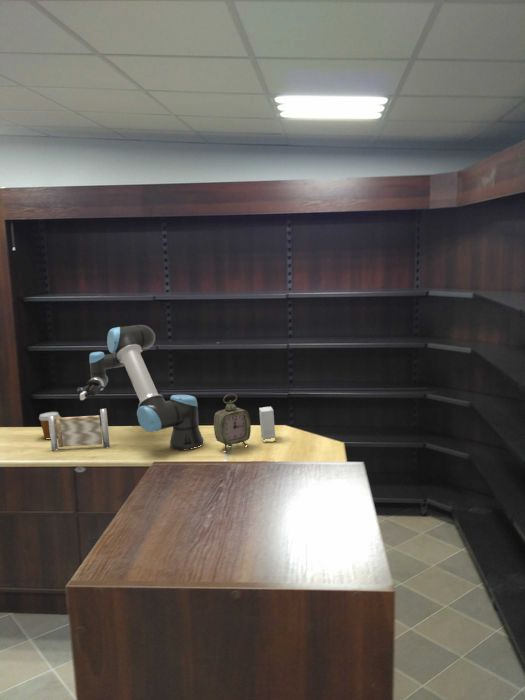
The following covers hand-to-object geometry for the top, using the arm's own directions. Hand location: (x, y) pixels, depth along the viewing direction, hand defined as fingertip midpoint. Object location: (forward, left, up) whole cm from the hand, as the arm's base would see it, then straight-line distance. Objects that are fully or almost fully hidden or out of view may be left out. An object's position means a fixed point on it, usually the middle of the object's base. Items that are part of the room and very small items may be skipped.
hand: (81, 397), depth 254 cm
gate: (-3, +6, -21) cm, 22 cm away
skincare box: (-76, -41, -23) cm, 89 cm away
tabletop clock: (-68, -24, -23) cm, 75 cm away
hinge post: (-13, -1, -23) cm, 26 cm away
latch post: (+7, +12, -23) cm, 27 cm away
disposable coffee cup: (+24, +1, -23) cm, 33 cm away
